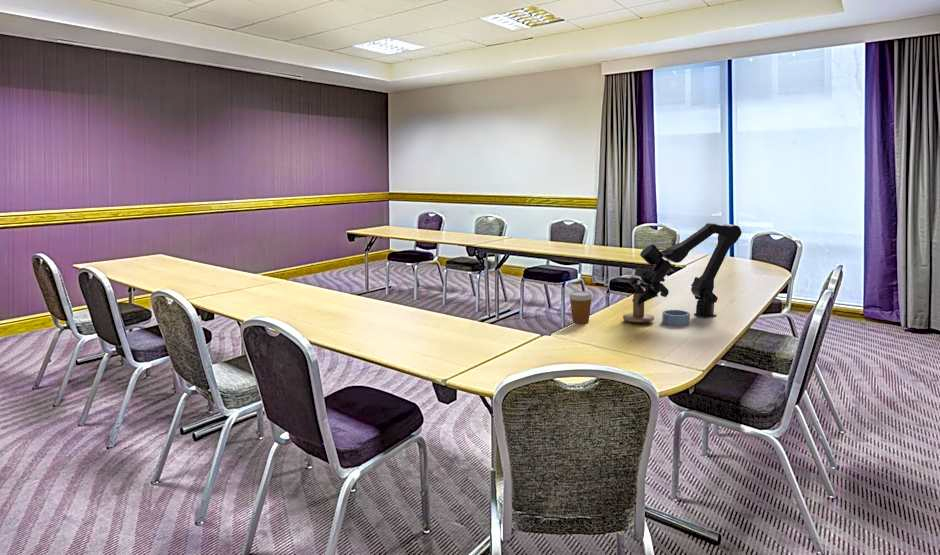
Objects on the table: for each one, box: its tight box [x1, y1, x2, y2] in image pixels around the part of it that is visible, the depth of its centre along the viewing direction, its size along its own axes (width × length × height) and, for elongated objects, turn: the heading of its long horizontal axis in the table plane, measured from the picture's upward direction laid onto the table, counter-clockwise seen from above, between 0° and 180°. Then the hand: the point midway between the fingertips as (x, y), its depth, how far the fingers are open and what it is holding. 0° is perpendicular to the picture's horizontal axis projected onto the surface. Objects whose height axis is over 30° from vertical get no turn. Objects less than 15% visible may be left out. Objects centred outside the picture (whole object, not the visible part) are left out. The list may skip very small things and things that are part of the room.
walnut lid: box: [622, 293, 655, 323], centre depth 239 cm, size 12×12×10 cm
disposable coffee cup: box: [568, 290, 594, 325], centre depth 242 cm, size 10×10×12 cm
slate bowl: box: [661, 309, 691, 327], centre depth 237 cm, size 10×10×4 cm
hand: (635, 302), depth 239 cm, fingers closed on walnut lid, 3 cm apart
